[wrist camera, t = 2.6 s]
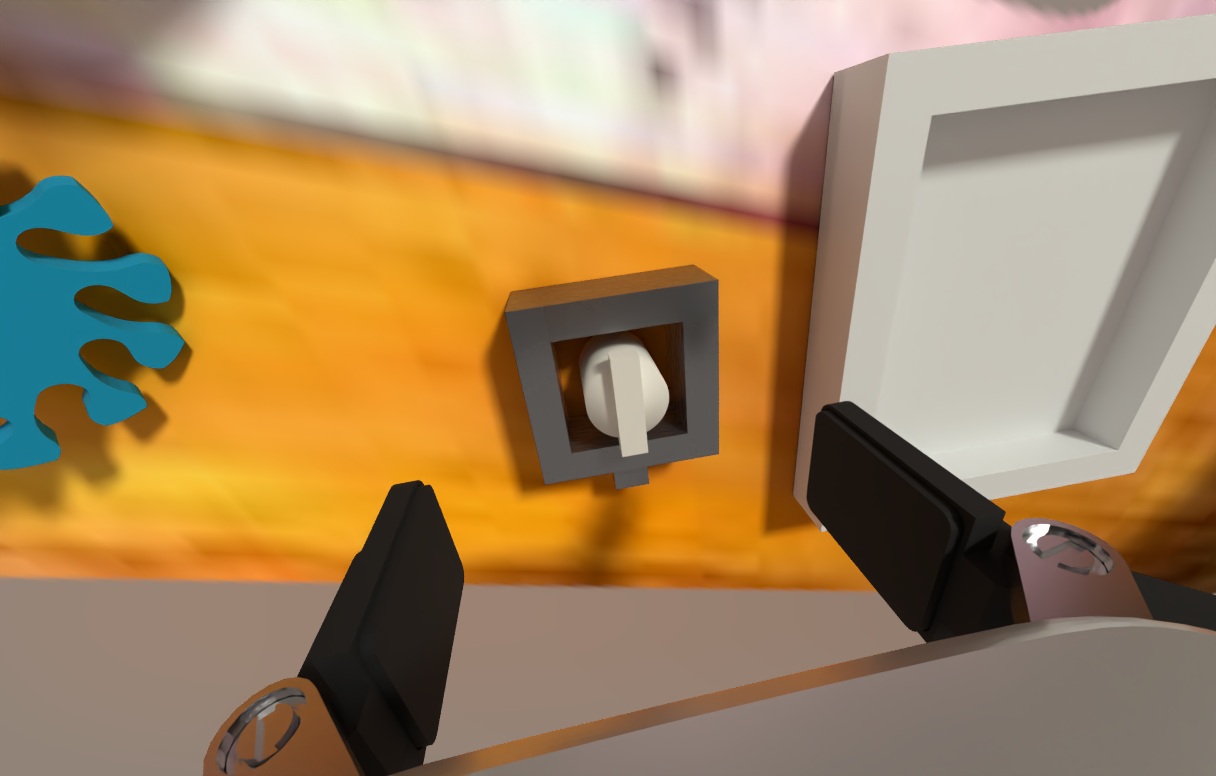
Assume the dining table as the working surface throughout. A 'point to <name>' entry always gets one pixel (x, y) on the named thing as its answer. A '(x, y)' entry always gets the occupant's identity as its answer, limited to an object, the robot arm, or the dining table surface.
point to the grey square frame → (608, 308)
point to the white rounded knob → (622, 389)
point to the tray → (1018, 249)
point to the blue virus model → (67, 320)
